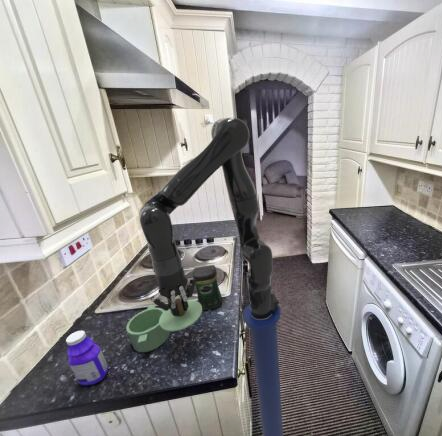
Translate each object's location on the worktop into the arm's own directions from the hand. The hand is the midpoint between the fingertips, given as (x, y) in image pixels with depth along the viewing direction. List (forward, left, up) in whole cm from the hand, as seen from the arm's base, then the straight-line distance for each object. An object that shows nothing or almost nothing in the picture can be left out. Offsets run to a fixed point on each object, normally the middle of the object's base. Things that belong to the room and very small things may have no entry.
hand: (180, 312), depth 75 cm
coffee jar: (-8, -19, -16) cm, 26 cm away
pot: (+13, -9, -15) cm, 22 cm away
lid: (0, 0, -1) cm, 1 cm away
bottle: (+27, +1, -16) cm, 31 cm away
